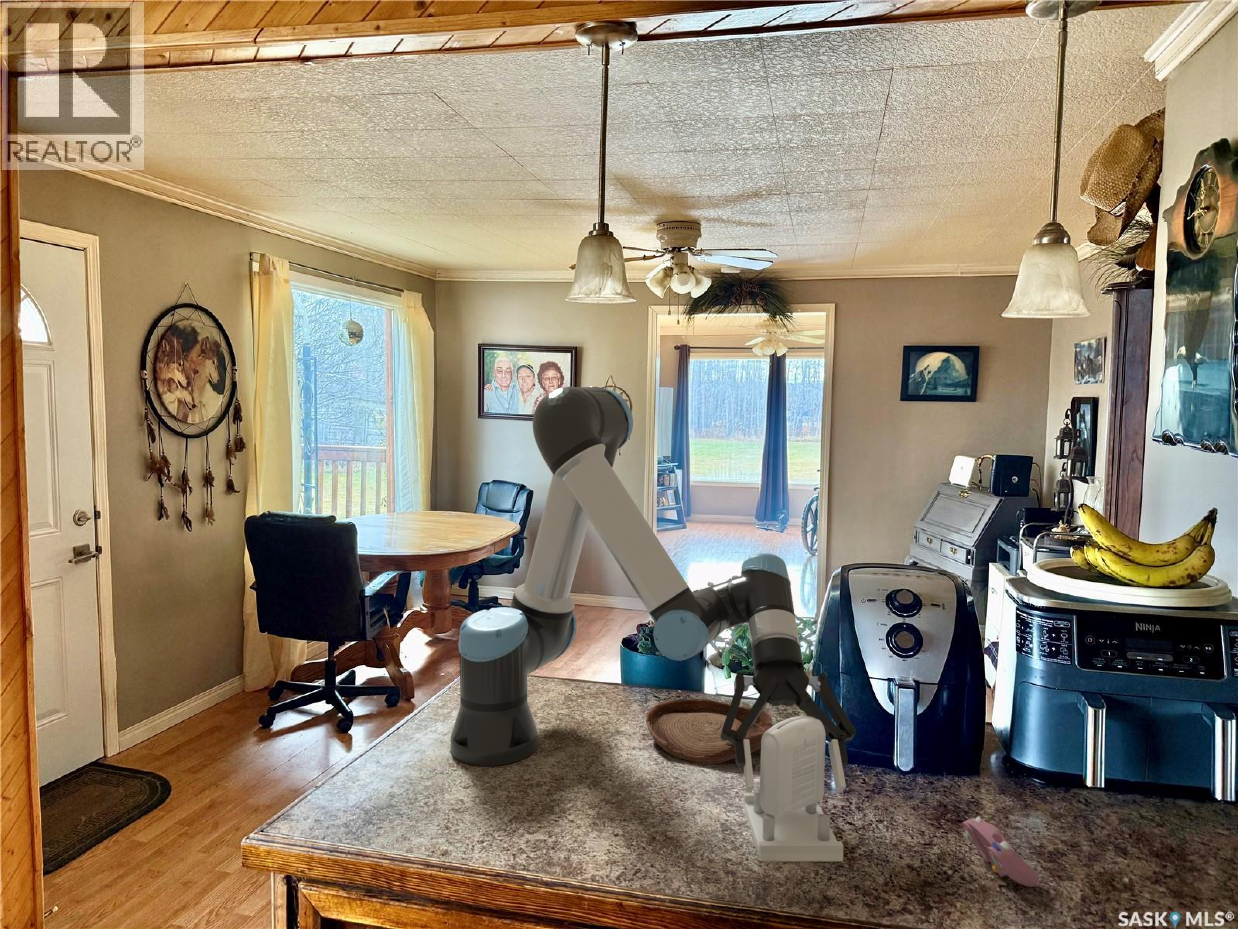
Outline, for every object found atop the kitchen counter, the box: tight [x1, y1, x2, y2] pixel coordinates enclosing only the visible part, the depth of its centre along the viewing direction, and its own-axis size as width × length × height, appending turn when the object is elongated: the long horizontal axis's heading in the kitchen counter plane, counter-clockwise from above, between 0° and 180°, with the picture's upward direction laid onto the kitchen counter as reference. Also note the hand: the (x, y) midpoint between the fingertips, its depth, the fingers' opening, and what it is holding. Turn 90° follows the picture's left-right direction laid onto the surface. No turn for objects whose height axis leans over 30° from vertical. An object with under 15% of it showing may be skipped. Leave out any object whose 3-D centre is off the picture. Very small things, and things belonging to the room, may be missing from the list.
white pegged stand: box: [742, 788, 844, 862], centre depth 112 cm, size 14×11×4 cm
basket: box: [645, 697, 773, 765], centre depth 141 cm, size 22×20×5 cm
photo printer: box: [759, 715, 827, 816], centre depth 111 cm, size 10×4×12 cm, turn 124°
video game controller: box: [961, 815, 1040, 888], centre depth 103 cm, size 10×5×7 cm, turn 7°
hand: (795, 790), depth 108 cm, fingers open, 12 cm apart
